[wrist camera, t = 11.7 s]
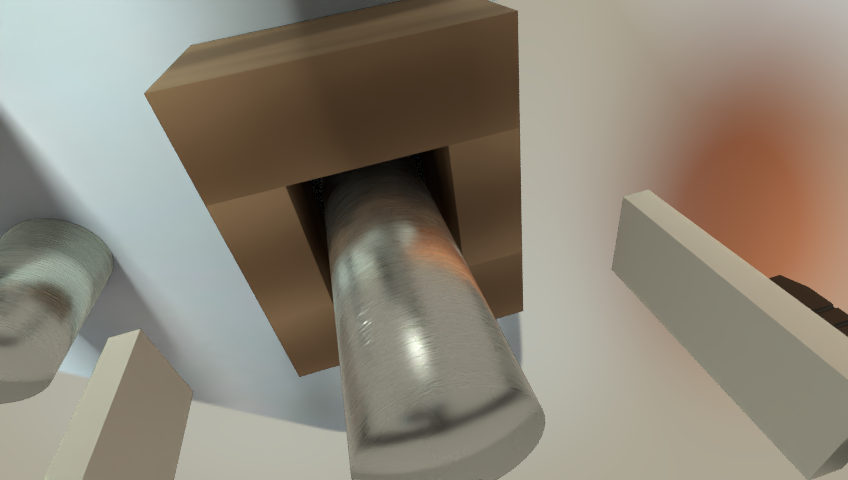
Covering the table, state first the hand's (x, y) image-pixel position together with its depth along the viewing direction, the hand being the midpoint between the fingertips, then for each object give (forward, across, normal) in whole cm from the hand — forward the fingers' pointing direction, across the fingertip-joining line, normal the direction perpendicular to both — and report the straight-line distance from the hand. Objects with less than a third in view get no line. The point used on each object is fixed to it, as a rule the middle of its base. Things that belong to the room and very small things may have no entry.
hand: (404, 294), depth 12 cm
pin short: (+9, -14, -1) cm, 17 cm away
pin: (+9, 0, 0) cm, 10 cm away
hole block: (+9, 0, 0) cm, 10 cm away
